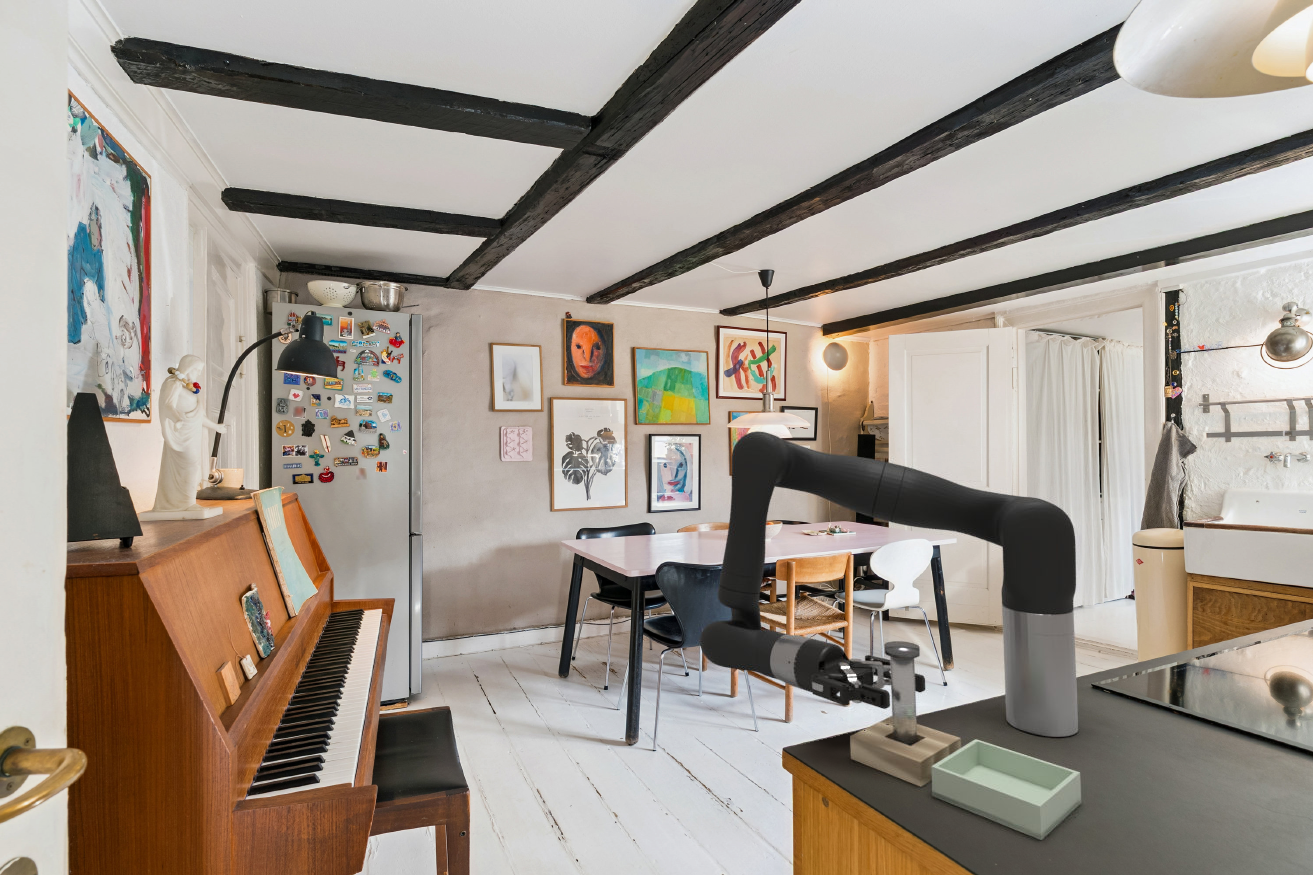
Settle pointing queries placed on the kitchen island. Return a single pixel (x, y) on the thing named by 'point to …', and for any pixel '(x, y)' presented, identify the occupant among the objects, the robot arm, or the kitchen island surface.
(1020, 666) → the robot arm
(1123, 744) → the kitchen island surface
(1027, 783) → the green tray
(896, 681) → the steel pin
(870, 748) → the socket block
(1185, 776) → the kitchen island surface
